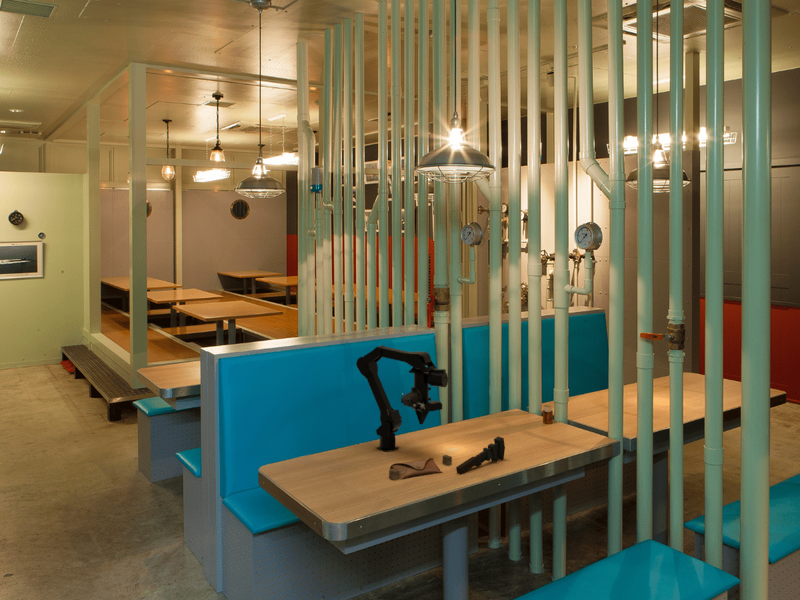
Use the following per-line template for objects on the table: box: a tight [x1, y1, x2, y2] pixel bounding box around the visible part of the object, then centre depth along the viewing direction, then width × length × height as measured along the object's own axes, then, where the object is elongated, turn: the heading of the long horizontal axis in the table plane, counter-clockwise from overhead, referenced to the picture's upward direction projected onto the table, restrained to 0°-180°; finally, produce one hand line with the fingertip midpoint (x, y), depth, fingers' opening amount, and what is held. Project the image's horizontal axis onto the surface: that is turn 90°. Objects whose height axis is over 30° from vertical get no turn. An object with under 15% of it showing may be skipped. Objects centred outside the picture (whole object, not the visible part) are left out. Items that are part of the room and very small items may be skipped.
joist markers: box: [388, 454, 453, 481], centre depth 235 cm, size 3×27×3 cm, turn 128°
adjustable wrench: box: [455, 436, 506, 475], centre depth 241 cm, size 8×3×25 cm
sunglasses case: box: [389, 457, 443, 481], centre depth 234 cm, size 18×7×7 cm, turn 116°
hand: (421, 424), depth 254 cm, fingers closed
